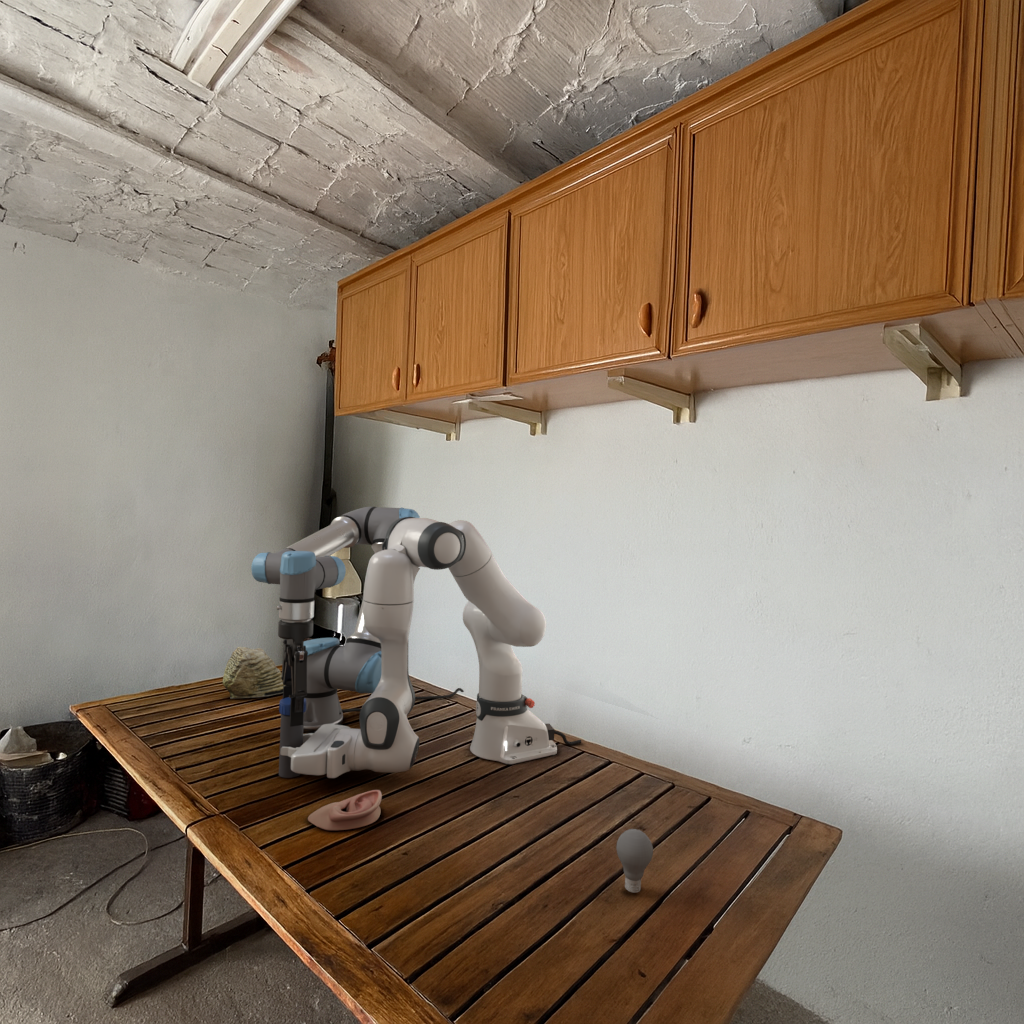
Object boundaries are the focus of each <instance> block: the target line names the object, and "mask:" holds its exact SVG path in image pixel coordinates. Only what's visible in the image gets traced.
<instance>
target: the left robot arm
mask: <svg viewBox="0 0 1024 1024" xmlns="http://www.w3.org/2000/svg"><path fill="white" fill-rule="evenodd" d="M404 517H415V518H421V517H420V515H419V513H418V512H417V511H416V510H415V509H413V508H405V507H388V506H387V507H385V506H363V507H360V508H357V509H356V508H355V509H354V510H351V511H349V512H348V511H347V512H345V513H343V514H341V515H340V516H337V517H335V518H334V519H333V520H332V521H331V523H330V524H329V525H328V526H326V527H324V528H321V529H319V530H317V531H315V532H314V533H312V534H309V535H308V536H306V537H304V538H302V539H300V540H298V541H296V542H294V543H292V544H290V545H289V546H286V547H285V548H282V549H280V550H278V551H276V552H271V551H268V552H260V553H258V554H256V555H255V556H254V558H253V560H252V562H251V566H250V567H251V568H250V570H251V574H252V577H253V579H254V580H255V581H256V582H258V583H263V584H268V585H279V605H277V606H276V610H277V611H278V618H279V621H278V625H277V626H278V627H277V636H278V637H279V638H280V639H283V641H282V643H283V652H282V666H281V673H282V677H281V679H282V680H283V685H285V686H283V693H282V699H284V698H288V697H289V698H291V704H290V727H292V726H299V725H303V711H304V698H305V699H306V711H305V712H304V728H303V733H315V732H316V731H317V730H318V729H319V728H320V727H321V726H322V725H324V724H336V725H342V723H343V722H344V714H343V713H352V712H353V713H354V712H355V713H356V712H359V713H360V711H361V708H342V706H341V702H340V699H339V695H338V690H341V691H347V692H354V693H357V694H358V693H359V694H372V693H373V692H374V691H375V689H376V687H377V685H378V683H379V681H380V679H381V673H382V670H381V643H380V640H379V639H378V638H376V637H374V636H373V635H371V634H370V633H369V632H368V631H367V629H366V628H365V624H364V618H363V600H362V601H361V606H360V609H359V613H358V616H357V620H356V623H355V624H356V625H355V628H354V632H353V633H352V634H350V635H349V636H347V638H346V640H345V644H344V645H340V644H341V643H340V642H341V641H340V639H339V638H337V637H320V638H319V637H318V638H313V639H310V638H311V637H312V636H313V635H314V620H313V618H314V617H315V592H316V591H317V590H322V589H327V588H333V587H335V586H338V585H339V584H341V583H342V582H343V581H344V579H345V577H346V573H347V570H346V569H347V568H346V565H345V563H344V561H343V560H342V559H341V558H339V557H338V556H335V555H333V554H335V553H337V552H338V551H340V550H342V549H344V548H345V549H350V548H353V547H354V546H358V545H369V546H370V547H371V549H372V550H373V552H374V554H375V553H377V552H379V551H382V544H383V542H384V541H385V536H386V533H387V531H388V529H389V527H390V526H391V524H392V523H393V522H394V521H396V520H398V519H400V518H404ZM384 550H385V547H384ZM306 639H307V640H306ZM458 692H460V693H464V692H465V690H464V689H463V688H461V687H458V688H456V689H455V690H454V691H453V692H452V693H450V694H444V695H426V696H425V695H424V696H415V700H436V699H437V700H441V699H449V698H452V697H454V696H455V695H456V694H457V693H458Z"/></svg>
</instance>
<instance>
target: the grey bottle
mask: <svg viewBox="0 0 1024 1024" xmlns="http://www.w3.org/2000/svg"><path fill="white" fill-rule="evenodd" d="M303 728H304V713H303V725H299V726H292V727H290V715H283V714H280V728H279V729H280V730H279V731H280V732H279V735H280V736H279V750H280V749H281V748H282V747H283V746H284V745H291V747H293V748H296V747H301V746H302V745H303V744H304V743H303V735H304V732H303ZM278 756H279V757H278V776H279V777H280V778H284V779H291V778H292V779H293V778H296V777H299V776H300V775H301V774H299V773H295V772H293V771H292V770H291V757H289V756H284V755H281V754H280V753H279V754H278Z"/></svg>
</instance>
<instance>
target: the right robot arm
mask: <svg viewBox="0 0 1024 1024" xmlns="http://www.w3.org/2000/svg"><path fill="white" fill-rule="evenodd" d="M384 547H385V550H384ZM421 568H427V569H429V570H435V571H436V570H438V571H439V570H446V569H448V570H449V572H450V574H451V575H452V577H453V579H454V581H455V582H456V584H457V585H458V587H459V590H460V591H461V593H462V595H463V596H464V598H465V599H466V600H467V602H466V604H465V606H464V608H463V612H462V621H463V625H464V626H465V628H466V629H467V631H468V632H469V634H470V635H471V638H472V641H473V644H474V647H475V650H476V655H477V659H478V660H477V661H478V693H477V694H476V702H475V716H476V719H475V720H476V721H475V726H474V733H473V736H472V741H471V743H470V746H469V751H470V752H471V753H472V754H473V755H474V756H475V757H478V758H481V759H484V760H488V761H489V760H490V761H496V762H499V763H502V764H506V765H514V764H519V763H523V762H528V761H532V760H536V759H541V758H545V757H549V756H555V755H556V754H557V753H558V745H557V744H556V743H555V742H554V741H555V735H557V736H559V737H561V739H562V740H563V741H562V742H563V743H564V744H565V745H567V746H576V745H580V744H582V739H577V740H573V741H569V740H568V739H567V737H566V735H565V733H563V732H561V731H558V730H556V729H555V728H554V727H553V726H552V725H551V724H550V723H544V721H543V720H541V719H540V718H539V717H538V716H537V715H536V714H535V713H533V712H532V711H531V710H529V709H533V708H534V707H535V705H536V703H535V700H533V699H532V698H530V697H528V696H526V695H524V694H523V693H522V691H523V688H522V687H523V672H524V671H523V665H522V662H521V660H520V659H519V658H518V656H517V655H516V654H515V651H514V649H513V647H519V648H530V647H535V646H536V645H538V644H540V643H541V641H542V640H543V639H544V636H545V634H546V631H547V619H546V616H545V614H544V613H543V611H542V610H541V609H540V608H537V606H535V605H533V604H532V603H531V602H530V601H529V600H527V599H526V597H524V596H523V594H521V592H519V590H518V589H517V588H516V587H515V586H514V585H513V584H512V583H511V581H510V580H509V579H508V578H507V577H506V575H505V573H504V572H503V570H502V568H501V567H500V565H499V563H498V561H497V560H496V558H495V556H494V553H493V552H492V550H491V547H489V545H488V544H487V541H486V540H485V539H484V537H483V536H482V534H481V533H480V532H479V530H478V529H477V528H476V527H475V526H474V525H473V524H472V523H471V522H470V521H467V520H464V519H463V520H462V519H460V520H459V519H458V520H454V521H451V522H449V523H448V522H445V521H444V522H443V521H439V520H436V519H432V518H428V517H420V518H415V517H404V518H400V519H398V520H396V521H394V522H393V523H392V524H391V526H390V527H389V529H388V531H387V533H386V536H385V541H384V542H383V544H382V551H379V552H377V553H375V552H374V554H372V556H371V557H370V558H369V560H368V565H367V568H366V573H365V580H364V585H363V596H362V601H363V618H364V624H365V628H366V629H367V631H368V632H369V633H370V634H371V635H373V636H374V637H376V638H378V639H379V640H380V643H381V670H382V673H381V679H380V681H379V683H378V685H377V687H376V689H375V691H374V692H373V693H370V694H371V695H369V697H368V698H367V699H366V701H364V703H363V704H362V706H361V708H360V709H361V711H360V712H359V728H352V727H350V726H348V725H343V724H340V725H336V724H324V725H322V726H321V727H320V728H319V729H318V730H317V731H316V732H308V733H303V745H302V746H301V747H296V748H293V747H291V745H284V746H283V747H282V748H281V749H280V748H279V754H281V755H284V756H289V757H291V770H292V771H293V772H295V773H299V774H300V775H309V776H324V775H326V778H328V779H336V778H338V777H339V776H342V775H343V774H345V773H348V772H351V771H364V770H369V771H372V772H375V773H387V774H388V773H392V774H393V773H394V774H395V773H403V772H404V773H405V772H408V771H410V769H412V767H413V766H414V764H415V763H416V760H417V756H418V755H419V754H418V753H419V749H420V742H421V741H420V737H419V736H418V735H417V734H416V733H415V731H414V730H413V728H412V726H411V724H410V721H409V719H408V715H409V714H410V713H411V712H412V711H413V708H414V707H415V704H416V699H415V697H416V692H415V689H414V686H413V684H412V681H411V679H410V671H409V637H410V631H411V625H412V621H413V612H414V603H415V601H414V600H415V599H414V598H415V597H414V596H415V580H416V577H417V575H418V573H419V571H420V569H421ZM528 708H529V709H528Z"/></svg>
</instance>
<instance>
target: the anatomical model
mask: <svg viewBox="0 0 1024 1024" xmlns="http://www.w3.org/2000/svg"><path fill="white" fill-rule="evenodd" d="M382 799H383V795H382V791H381V790H380V789H372V790H368V791H365V792H362V793H358V794H355V795H353V796H351V797H349V798H346V799H343V800H341V801H336V802H331V803H327V804H325V805H323V806H321V807H319V808H318V809H316V810H315V811H313V812H311V813H310V814H309V815H308V817H307V821H308V822H309V823H311V824H313V825H314V826H316V827H317V828H320V829H322V830H325V831H344V830H345V831H347V830H352V829H353V830H354V829H359V828H362V827H365V826H368V825H371V824H373V823H375V822H376V821H378V820H379V818H380V815H381V807H380V805H381V802H382Z"/></svg>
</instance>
